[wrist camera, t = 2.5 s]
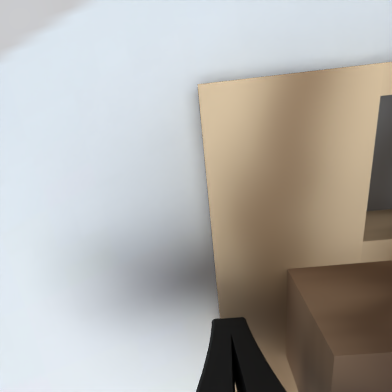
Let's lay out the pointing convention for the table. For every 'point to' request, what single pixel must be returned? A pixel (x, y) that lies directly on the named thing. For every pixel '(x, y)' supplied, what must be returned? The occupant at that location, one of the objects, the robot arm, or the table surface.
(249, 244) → the board
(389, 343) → the walnut block
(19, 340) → the table surface
